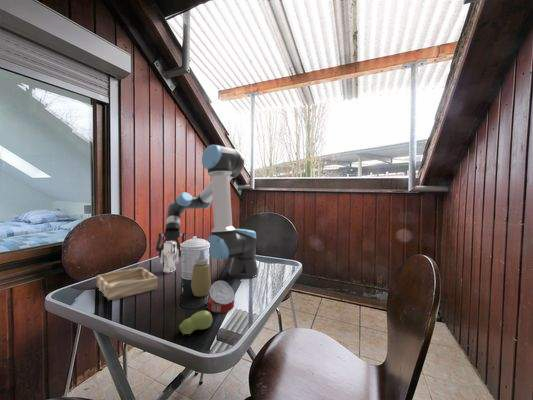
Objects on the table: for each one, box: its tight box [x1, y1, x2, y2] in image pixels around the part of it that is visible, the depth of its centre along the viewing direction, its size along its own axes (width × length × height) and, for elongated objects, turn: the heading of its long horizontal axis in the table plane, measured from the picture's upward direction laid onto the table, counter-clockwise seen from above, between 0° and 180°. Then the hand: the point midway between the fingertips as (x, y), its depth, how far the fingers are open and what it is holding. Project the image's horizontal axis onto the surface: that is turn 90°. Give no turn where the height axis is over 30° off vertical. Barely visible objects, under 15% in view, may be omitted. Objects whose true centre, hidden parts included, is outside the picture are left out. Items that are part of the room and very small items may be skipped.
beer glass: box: [162, 240, 178, 274], centre depth 128 cm, size 7×7×15 cm
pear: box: [178, 309, 213, 335], centre depth 76 cm, size 6×5×10 cm
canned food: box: [206, 280, 236, 313], centre depth 92 cm, size 11×10×10 cm
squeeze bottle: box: [190, 249, 212, 298], centre depth 101 cm, size 8×8×18 cm
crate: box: [96, 266, 159, 302], centre depth 105 cm, size 18×18×5 cm
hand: (169, 262), depth 125 cm, fingers closed on beer glass, 7 cm apart
